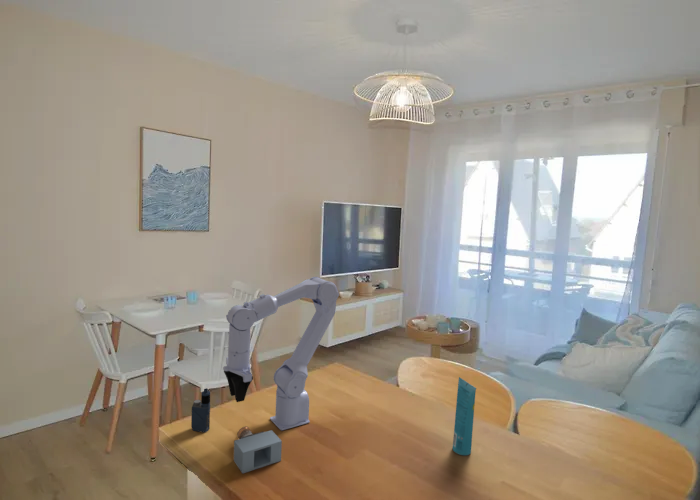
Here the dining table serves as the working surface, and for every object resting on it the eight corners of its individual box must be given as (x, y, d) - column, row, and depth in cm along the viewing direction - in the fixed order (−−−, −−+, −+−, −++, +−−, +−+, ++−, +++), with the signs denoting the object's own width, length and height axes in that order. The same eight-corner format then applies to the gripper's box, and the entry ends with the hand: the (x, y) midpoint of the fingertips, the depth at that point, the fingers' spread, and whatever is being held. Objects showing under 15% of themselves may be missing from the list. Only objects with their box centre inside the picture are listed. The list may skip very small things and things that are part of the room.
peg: (260, 450, 106) (260, 437, 106) (246, 454, 104) (247, 441, 103) (250, 437, 112) (250, 424, 111) (237, 441, 110) (237, 428, 109)
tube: (477, 456, 110) (483, 386, 108) (463, 460, 108) (469, 389, 106) (459, 441, 116) (464, 376, 115) (445, 445, 114) (450, 378, 112)
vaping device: (206, 433, 114) (207, 391, 113) (189, 430, 115) (190, 389, 114) (211, 428, 117) (212, 387, 115) (194, 426, 118) (195, 385, 116)
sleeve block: (281, 460, 103) (281, 441, 103) (242, 473, 98) (243, 452, 97) (270, 447, 109) (270, 429, 108) (233, 459, 103) (233, 439, 102)
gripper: (216, 344, 116) (214, 390, 117) (233, 360, 104) (232, 412, 105) (240, 340, 120) (238, 385, 121) (260, 356, 108) (258, 406, 110)
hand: (237, 397), depth 114 cm, fingers open, 4 cm apart
